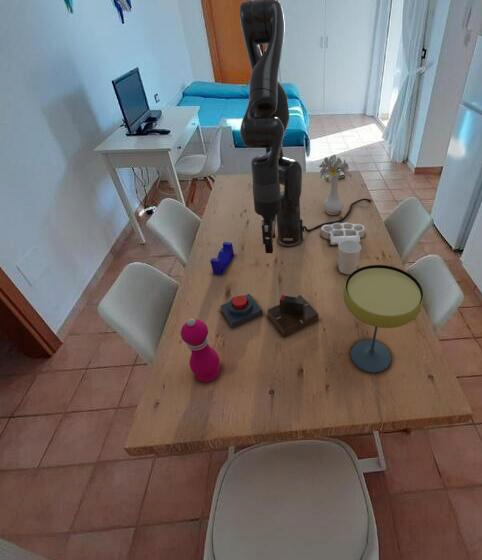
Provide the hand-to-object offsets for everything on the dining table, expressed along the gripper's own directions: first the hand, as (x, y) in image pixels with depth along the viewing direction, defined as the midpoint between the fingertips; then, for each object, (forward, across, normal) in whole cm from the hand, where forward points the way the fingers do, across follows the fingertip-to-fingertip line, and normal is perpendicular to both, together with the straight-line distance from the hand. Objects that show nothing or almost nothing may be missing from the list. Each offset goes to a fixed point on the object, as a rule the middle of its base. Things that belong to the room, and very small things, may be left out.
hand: (270, 244), depth 101 cm
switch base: (+18, -14, -7) cm, 24 cm away
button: (+14, -12, +9) cm, 20 cm away
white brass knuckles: (+16, +32, -26) cm, 44 cm away
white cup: (+17, +10, -26) cm, 33 cm away
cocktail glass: (+18, -29, -29) cm, 44 cm away
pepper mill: (+18, -33, +15) cm, 41 cm away
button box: (+18, -12, +9) cm, 23 cm away
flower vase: (+16, +54, -23) cm, 60 cm away
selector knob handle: (+14, -14, -7) cm, 22 cm away
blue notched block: (+18, +13, +20) cm, 30 cm away
